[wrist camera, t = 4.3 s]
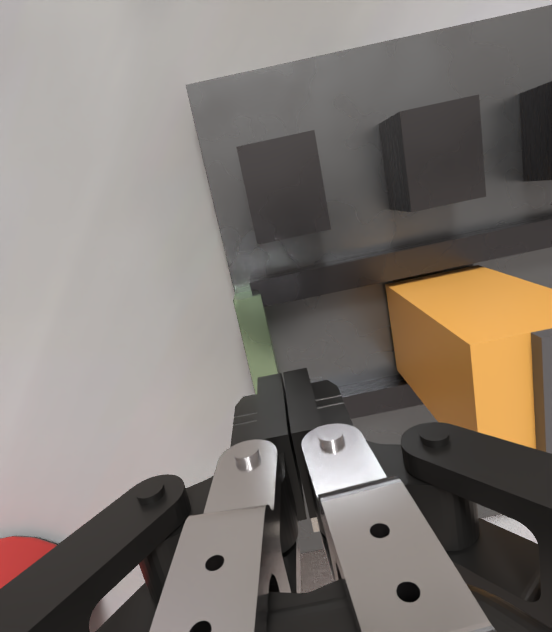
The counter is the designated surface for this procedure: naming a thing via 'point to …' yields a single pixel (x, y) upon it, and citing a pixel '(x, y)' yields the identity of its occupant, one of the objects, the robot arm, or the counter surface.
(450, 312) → the toggle
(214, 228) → the counter surface
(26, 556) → the beer can
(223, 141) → the panel
